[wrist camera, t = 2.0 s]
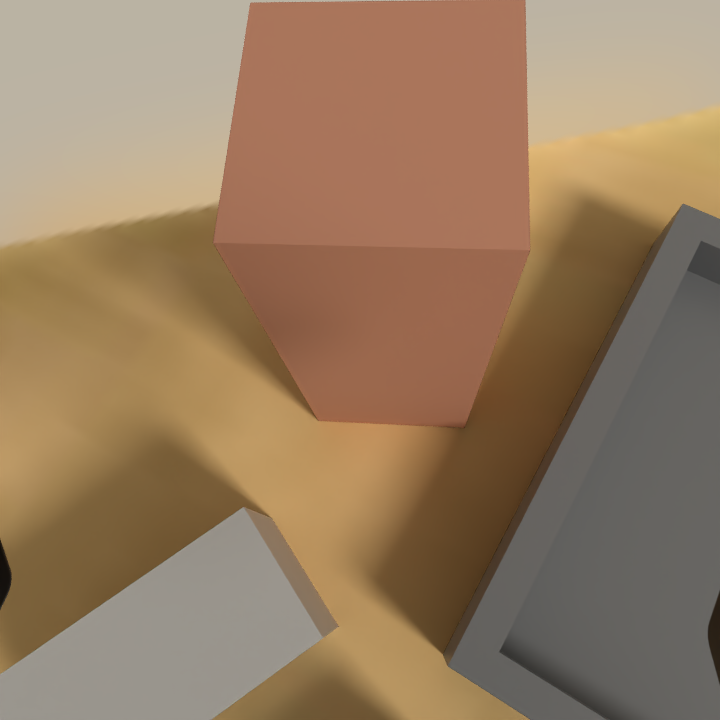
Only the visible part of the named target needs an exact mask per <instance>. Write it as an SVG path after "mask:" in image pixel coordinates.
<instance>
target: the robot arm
mask: <svg viewBox="0 0 720 720" xmlns="http://www.w3.org/2000/svg"><path fill="white" fill-rule="evenodd" d="M11 579H12V578H11V570H10V567H9V564H8V561H7V558H6V555H5V552H4V549H3V546H2V543H1V540H0V609H1V607H2V605H3V603H4V601H5V599H6V597H7V595H8V592H9V589H10V586H11ZM708 643H709V648H710V651H711V655H712V659H713V662H714V666H715V670H716V673H717V677H718V681H719V684H720V591H719V594H718V597H717V600H716V603H715V606H714V609H713V612H712V615H711V618H710V621H709V625H708Z"/></svg>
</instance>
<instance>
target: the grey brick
mask: <svg viewBox="0 0 720 720" xmlns="http://www.w3.org/2000/svg"><path fill="white" fill-rule="evenodd" d="M337 627H339V626H338V625H337V623H336V621H335V620H334V618H333V617H332V615H331V613H330V612H329V610H328V608H327V607H326V605H325V604H324V602H323V600H322V599H321V597H320V595H319V594H318V592H317V591H316V589H315V587H314V586H313V584H312V582H311V581H310V579H309V578H308V576H307V574H306V573H305V571H304V569H303V568H302V566H301V565H300V563H299V561H298V560H297V558H296V557H295V555H294V553H293V552H292V550H291V548H290V547H289V545H288V544H287V542H286V540H285V539H284V537H283V535H282V534H281V532H280V531H279V529H278V527H277V526H276V524H275V522H274V521H273V519H272V518H270V517H267V516H265V515H263V514H260V513H258V512H255V511H253V510H250V509H248V508H245V507H243V508H241V509H240V510H238V511H237V512H235V513H234V514H232V515H231V516H230V517H228V518H227V519H225V520H224V521H222V522H221V523H219V524H218V525H216V526H215V527H214V528H212V529H211V530H209V531H208V532H206V533H205V534H203V535H202V536H200V537H199V538H198V539H196V540H195V541H193V542H192V543H190V544H189V545H187V546H186V547H184V548H183V549H182V550H180V551H179V552H177V553H176V554H174V555H173V556H171V557H170V558H169V559H167V560H166V561H164V562H163V563H161V564H160V565H158V566H157V567H155V568H154V569H153V570H151V571H150V572H148V573H147V574H145V575H144V576H142V577H141V578H139V579H138V580H137V581H135V582H134V583H132V584H131V585H129V586H128V587H126V588H125V589H123V590H122V591H121V592H119V593H118V594H116V595H115V596H113V597H112V598H110V599H109V600H107V601H106V602H105V603H103V604H102V605H100V606H99V607H97V608H96V609H94V610H93V611H91V612H90V613H89V614H87V615H86V616H84V617H83V618H81V619H80V620H78V621H77V622H75V623H74V624H73V625H71V626H70V627H68V628H67V629H65V630H64V631H62V632H61V633H59V634H58V635H57V636H55V637H54V638H52V639H51V640H49V641H48V642H46V643H45V644H43V645H42V646H41V647H39V648H38V649H36V650H35V651H33V652H32V653H30V654H29V655H27V656H26V657H25V658H23V659H22V660H20V661H19V662H17V663H16V664H14V665H13V666H11V667H10V668H9V669H7V670H6V671H4V672H3V673H1V674H0V720H212V719H213V718H214V717H216V716H217V715H218V714H220V713H221V712H223V711H224V710H225V709H227V708H228V707H229V706H231V705H232V704H233V703H235V702H236V701H238V700H239V699H240V698H242V697H243V696H244V695H246V694H247V693H249V692H250V691H251V690H253V689H254V688H255V687H257V686H258V685H259V684H261V683H262V682H264V681H265V680H266V679H268V678H269V677H270V676H272V675H273V674H275V673H276V672H277V671H279V670H280V669H281V668H283V667H284V666H286V665H287V664H288V663H290V662H291V661H292V660H294V659H295V658H296V657H298V656H299V655H301V654H302V653H303V652H305V651H306V650H307V649H309V648H310V647H312V646H313V645H314V644H316V643H317V642H318V641H320V640H321V639H322V638H324V637H325V636H327V635H328V634H329V633H331V632H332V631H333V630H335V629H336V628H337Z"/></svg>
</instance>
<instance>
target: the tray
mask: <svg viewBox="0 0 720 720" xmlns="http://www.w3.org/2000/svg"><path fill="white" fill-rule="evenodd" d="M719 591H720V219H718V218H716V217H714V216H711V215H709V214H706V213H704V212H702V211H699V210H697V209H695V208H692V207H690V206H688V205H685V204H682V206H681V207H680V208H679V210H678V211H677V212H676V214H675V215H674V216H673V218H672V219H671V221H670V222H669V223H668V225H667V226H666V227H665V229H664V230H663V231H662V233H661V234H660V236H659V237H658V238H657V240H656V241H655V242H654V244H653V246H652V248H651V250H650V252H649V254H648V256H647V258H646V260H645V262H644V264H643V265H642V267H641V269H640V271H639V273H638V275H637V277H636V279H635V281H634V283H633V285H632V287H631V289H630V291H629V293H628V295H627V297H626V299H625V301H624V303H623V304H622V306H621V308H620V310H619V312H618V314H617V316H616V318H615V320H614V322H613V324H612V326H611V328H610V330H609V332H608V334H607V336H606V338H605V340H604V342H603V343H602V345H601V347H600V349H599V351H598V353H597V355H596V357H595V359H594V361H593V363H592V365H591V367H590V369H589V371H588V373H587V375H586V377H585V379H584V381H583V382H582V384H581V386H580V388H579V390H578V392H577V394H576V396H575V398H574V400H573V402H572V404H571V406H570V408H569V410H568V412H567V414H566V416H565V418H564V420H563V421H562V423H561V425H560V427H559V429H558V431H557V433H556V435H555V437H554V439H553V441H552V443H551V445H550V447H549V449H548V451H547V453H546V455H545V457H544V459H543V460H542V462H541V464H540V466H539V468H538V470H537V472H536V474H535V476H534V478H533V480H532V482H531V484H530V486H529V488H528V490H527V492H526V494H525V496H524V498H523V499H522V501H521V503H520V505H519V507H518V509H517V511H516V513H515V515H514V517H513V519H512V521H511V523H510V525H509V527H508V529H507V531H506V533H505V535H504V537H503V538H502V540H501V542H500V544H499V546H498V548H497V550H496V552H495V554H494V556H493V558H492V560H491V562H490V564H489V566H488V568H487V570H486V572H485V574H484V576H483V577H482V579H481V581H480V583H479V585H478V587H477V589H476V591H475V593H474V595H473V597H472V599H471V601H470V603H469V605H468V607H467V609H466V611H465V613H464V615H463V616H462V618H461V620H460V622H459V624H458V626H457V628H456V630H455V632H454V634H453V636H452V638H451V640H450V642H449V644H448V646H447V648H446V650H445V652H444V654H443V656H444V658H445V661H446V663H447V666H448V667H450V668H451V669H453V670H454V671H456V672H458V673H459V674H461V675H462V676H464V677H465V678H467V679H468V680H470V681H472V682H473V683H475V684H476V685H478V686H479V687H481V688H482V689H484V690H486V691H487V692H489V693H490V694H492V695H493V696H495V697H496V698H498V699H499V700H501V701H503V702H504V703H506V704H507V705H509V706H510V707H512V708H513V709H515V710H517V711H518V712H520V713H521V714H523V715H524V716H526V717H527V718H529V719H530V720H720V684H719V681H718V677H717V673H716V670H715V666H714V662H713V659H712V655H711V651H710V648H709V643H708V625H709V621H710V618H711V615H712V612H713V609H714V606H715V603H716V600H717V597H718V594H719Z"/></svg>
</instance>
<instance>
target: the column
mask: <svg viewBox="0 0 720 720" xmlns="http://www.w3.org/2000/svg"><path fill="white" fill-rule="evenodd" d="M525 10H526V9H525V0H445V1H444V0H442V1H358V2H271V3H250V9H249V15H248V22H247V28H246V34H245V41H244V47H243V54H242V60H241V66H240V73H239V79H238V86H237V92H236V98H235V105H234V112H233V118H232V124H231V130H230V137H229V143H228V150H227V156H226V163H225V169H224V176H223V182H222V188H221V195H220V201H219V208H218V214H217V220H216V227H215V233H214V240H213V244H214V245H215V247H216V249H217V250H218V252H219V254H220V255H221V257H222V259H223V261H224V262H225V264H226V266H227V267H228V269H229V271H230V272H231V274H232V276H233V277H234V279H235V281H236V282H237V284H238V286H239V288H240V289H241V291H242V293H243V294H244V296H245V298H246V299H247V301H248V303H249V304H250V306H251V308H252V310H253V311H254V313H255V315H256V316H257V318H258V320H259V321H260V323H261V325H262V326H263V328H264V330H265V331H266V333H267V335H268V337H269V338H270V340H271V342H272V343H273V345H274V347H275V348H276V350H277V352H278V353H279V355H280V357H281V358H282V360H283V362H284V364H285V365H286V367H287V369H288V370H289V372H290V374H291V375H292V377H293V379H294V380H295V382H296V384H297V386H298V387H299V389H300V391H301V392H302V394H303V396H304V397H305V399H306V401H307V402H308V404H309V406H310V407H311V409H312V411H313V413H314V414H315V416H316V418H317V419H318V421H335V422H355V423H376V424H397V425H417V426H438V427H458V428H465V425H466V422H467V420H468V417H469V414H470V412H471V409H472V406H473V403H474V401H475V398H476V395H477V393H478V390H479V387H480V385H481V382H482V379H483V376H484V374H485V371H486V368H487V366H488V363H489V360H490V357H491V355H492V352H493V349H494V347H495V344H496V341H497V339H498V336H499V333H500V330H501V328H502V325H503V322H504V320H505V317H506V314H507V311H508V309H509V306H510V303H511V301H512V298H513V295H514V293H515V290H516V287H517V284H518V282H519V279H520V276H521V274H522V271H523V268H524V266H525V263H526V260H527V257H528V255H529V252H530V216H529V165H528V116H527V115H528V113H527V67H526V66H527V64H526V62H527V61H526V13H525V12H526V11H525Z"/></svg>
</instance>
